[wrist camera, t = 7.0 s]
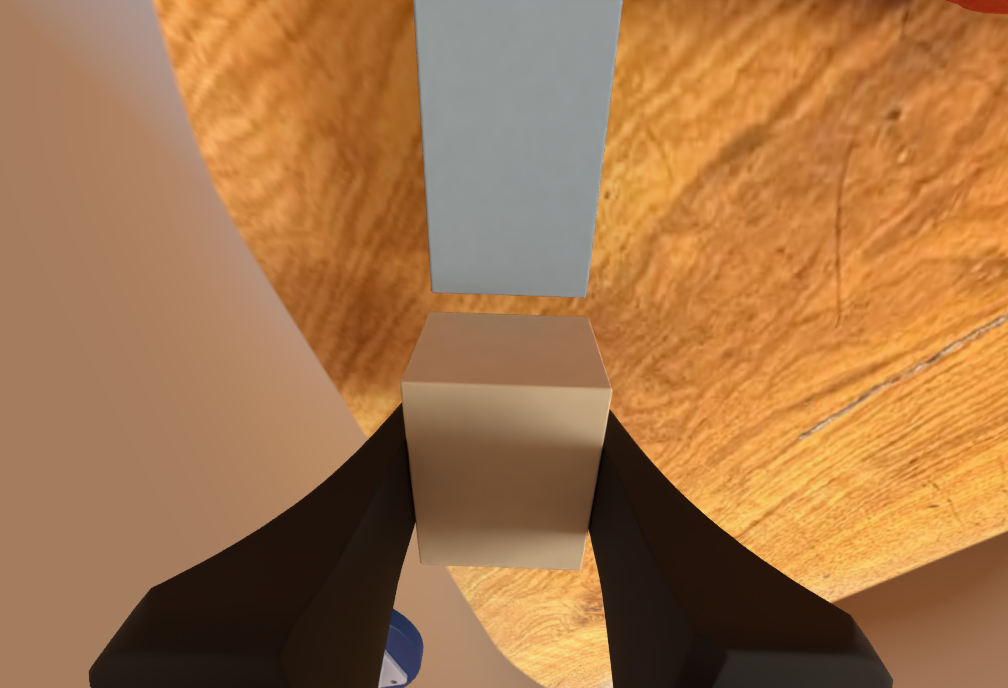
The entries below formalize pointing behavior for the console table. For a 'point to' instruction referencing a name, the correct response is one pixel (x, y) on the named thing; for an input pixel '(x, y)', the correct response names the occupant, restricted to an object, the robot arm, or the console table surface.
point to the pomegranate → (984, 5)
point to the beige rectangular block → (504, 438)
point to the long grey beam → (513, 140)
